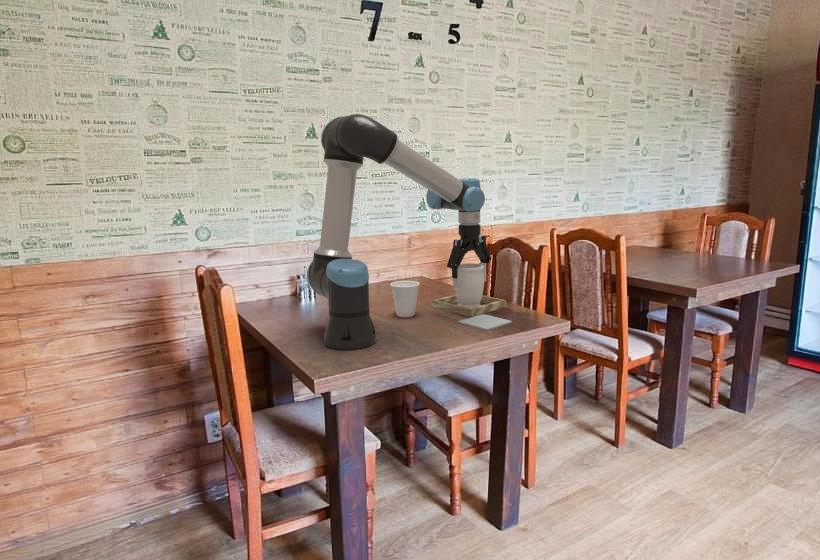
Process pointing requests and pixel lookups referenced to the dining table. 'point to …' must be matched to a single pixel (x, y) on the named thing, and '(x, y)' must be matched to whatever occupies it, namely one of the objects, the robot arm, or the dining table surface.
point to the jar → (470, 285)
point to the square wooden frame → (448, 306)
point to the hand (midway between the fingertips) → (469, 284)
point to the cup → (405, 297)
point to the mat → (485, 322)
